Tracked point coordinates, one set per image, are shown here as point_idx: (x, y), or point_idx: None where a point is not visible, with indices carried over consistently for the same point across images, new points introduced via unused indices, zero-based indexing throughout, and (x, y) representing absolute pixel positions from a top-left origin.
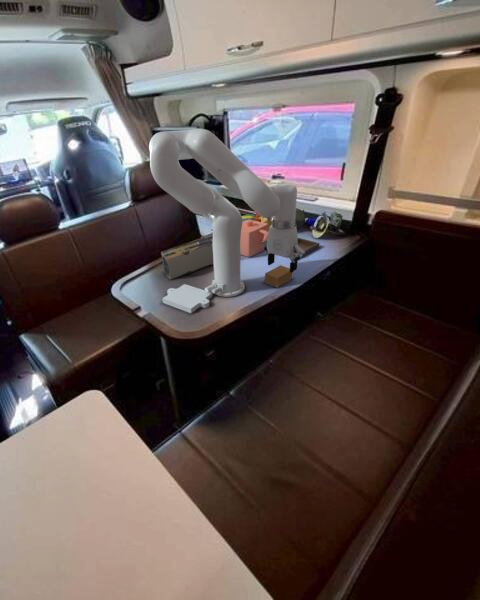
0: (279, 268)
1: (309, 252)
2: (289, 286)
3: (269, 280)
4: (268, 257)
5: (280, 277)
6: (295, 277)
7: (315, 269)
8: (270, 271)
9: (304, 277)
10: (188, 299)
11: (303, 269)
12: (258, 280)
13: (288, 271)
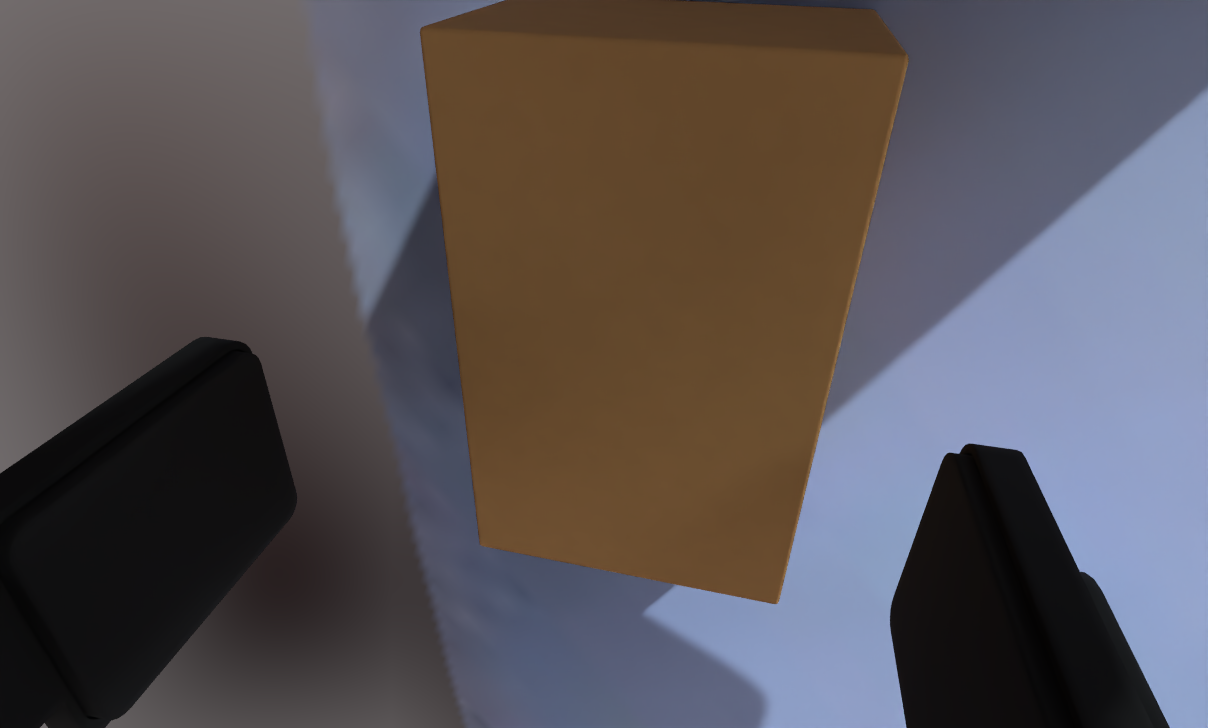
0: (708, 487)
1: None
2: (407, 194)
3: (723, 17)
4: (1098, 700)
5: (448, 159)
6: None
7: (496, 693)
8: (816, 262)
9: (454, 517)
10: None
11: (594, 664)
12: (1086, 9)
13: (480, 453)
